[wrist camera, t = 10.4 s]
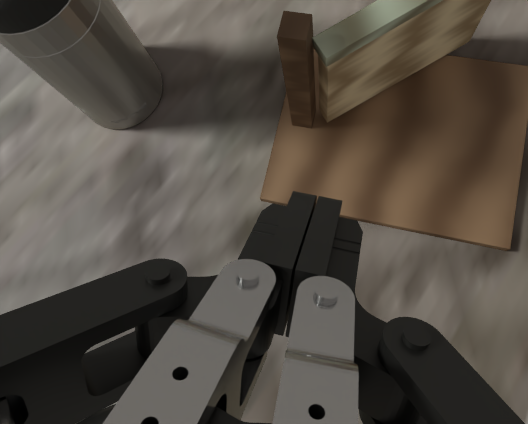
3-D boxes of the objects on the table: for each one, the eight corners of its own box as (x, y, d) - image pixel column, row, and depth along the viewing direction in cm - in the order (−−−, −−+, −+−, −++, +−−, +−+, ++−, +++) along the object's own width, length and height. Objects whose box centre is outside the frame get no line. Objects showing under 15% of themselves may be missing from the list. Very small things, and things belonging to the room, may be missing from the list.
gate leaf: (325, 126, 45) (326, 58, 33) (315, 110, 45) (312, 37, 33) (473, 42, 44) (527, -57, 33) (461, 26, 45) (509, -76, 33)
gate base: (261, 200, 45) (228, 141, 30) (300, 40, 48) (289, -88, 33) (505, 250, 41) (614, 212, 26) (530, 72, 44) (640, -57, 29)
